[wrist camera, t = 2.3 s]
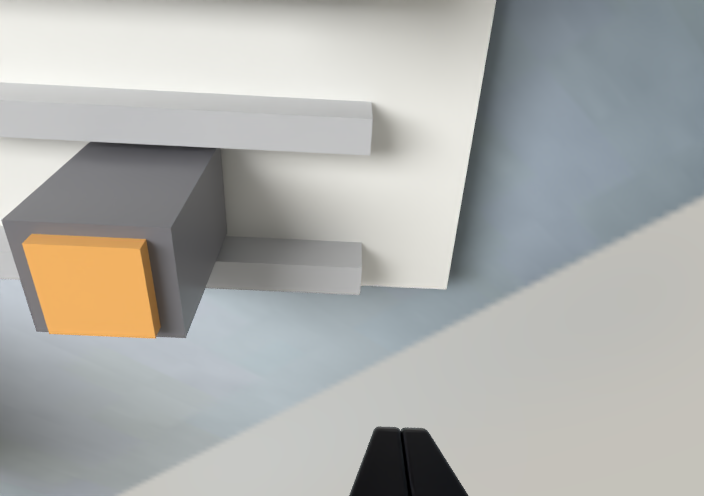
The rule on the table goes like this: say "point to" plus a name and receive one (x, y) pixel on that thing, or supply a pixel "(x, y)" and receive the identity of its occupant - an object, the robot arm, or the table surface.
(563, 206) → the table surface
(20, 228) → the block
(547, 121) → the table surface
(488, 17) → the breaker board
